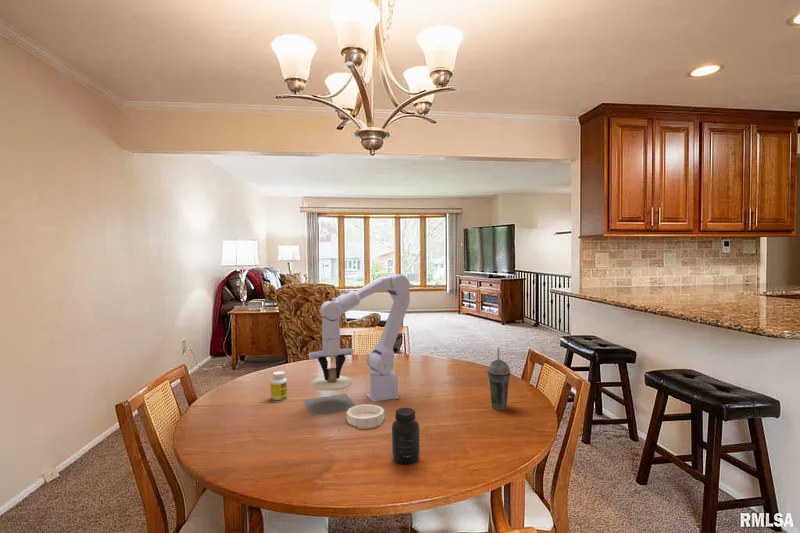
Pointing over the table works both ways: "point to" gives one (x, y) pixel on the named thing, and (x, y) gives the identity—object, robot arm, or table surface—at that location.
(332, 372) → the lid
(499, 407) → the beverage cup
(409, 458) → the supplement bottle
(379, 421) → the bowl
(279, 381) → the supplement bottle
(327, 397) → the mat
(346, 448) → the table surface
